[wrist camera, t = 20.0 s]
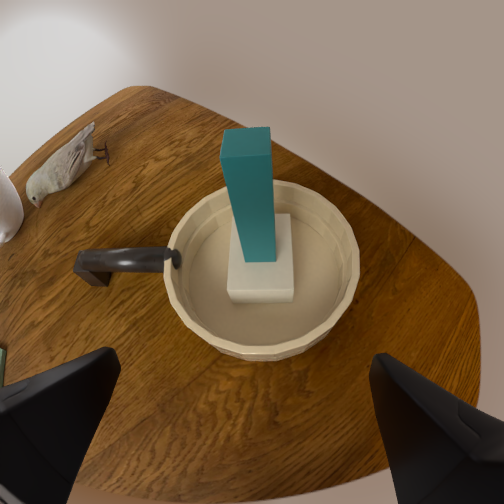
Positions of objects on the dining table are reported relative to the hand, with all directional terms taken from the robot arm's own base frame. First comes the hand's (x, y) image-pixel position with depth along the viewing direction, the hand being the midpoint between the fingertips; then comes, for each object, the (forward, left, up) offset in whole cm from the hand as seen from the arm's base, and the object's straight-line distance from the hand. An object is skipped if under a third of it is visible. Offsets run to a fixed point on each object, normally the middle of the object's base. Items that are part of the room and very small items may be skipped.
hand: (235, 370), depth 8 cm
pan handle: (+9, +12, -13) cm, 20 cm away
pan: (+9, 0, -13) cm, 16 cm away
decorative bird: (+25, +30, -14) cm, 42 cm away
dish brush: (+10, 0, -13) cm, 16 cm away
